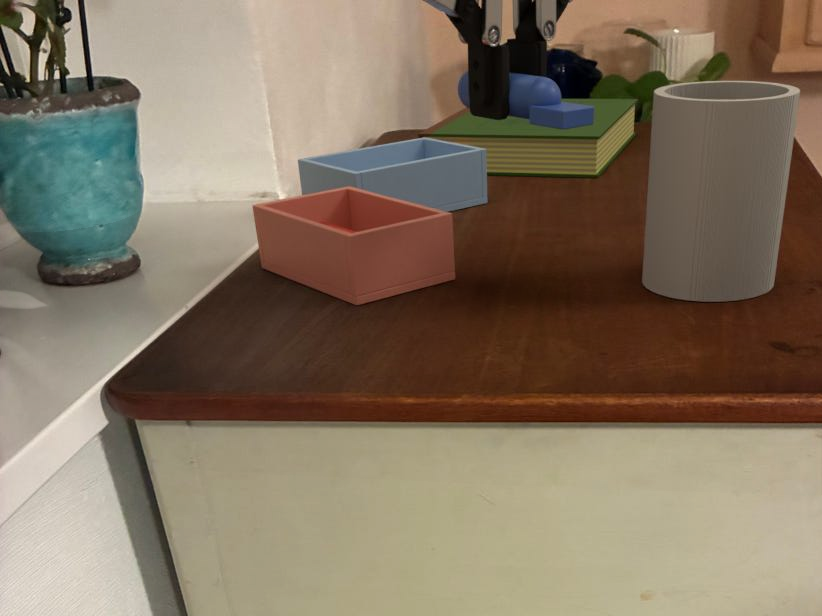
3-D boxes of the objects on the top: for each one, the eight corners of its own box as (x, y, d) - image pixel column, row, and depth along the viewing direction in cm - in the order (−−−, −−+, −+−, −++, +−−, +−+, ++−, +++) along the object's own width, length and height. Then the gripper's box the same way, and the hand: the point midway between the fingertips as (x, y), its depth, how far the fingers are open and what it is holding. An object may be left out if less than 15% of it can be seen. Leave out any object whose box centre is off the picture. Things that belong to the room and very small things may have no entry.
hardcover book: (483, 132, 124) (482, 98, 122) (635, 134, 120) (637, 99, 118) (418, 174, 105) (415, 135, 103) (596, 179, 100) (597, 137, 98)
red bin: (261, 268, 78) (251, 205, 75) (355, 246, 82) (349, 185, 80) (356, 305, 70) (349, 236, 67) (455, 279, 74) (452, 213, 71)
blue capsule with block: (449, 110, 67) (448, 68, 66) (479, 105, 68) (479, 65, 67) (562, 130, 60) (563, 84, 59) (593, 124, 61) (595, 79, 60)
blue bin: (360, 231, 86) (354, 173, 84) (304, 214, 92) (297, 159, 90) (487, 203, 94) (486, 148, 91) (428, 188, 100) (425, 137, 97)
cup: (621, 290, 70) (631, 97, 63) (671, 258, 77) (685, 78, 70) (748, 308, 66) (773, 104, 60) (790, 272, 73) (817, 83, 66)
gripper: (568, -251, 61) (559, 95, 71) (342, -272, 52) (370, 122, 63) (662, -267, 56) (637, 107, 67) (430, -293, 48) (444, 138, 58)
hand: (507, 111), depth 65 cm, fingers closed on blue capsule with block, 2 cm apart
